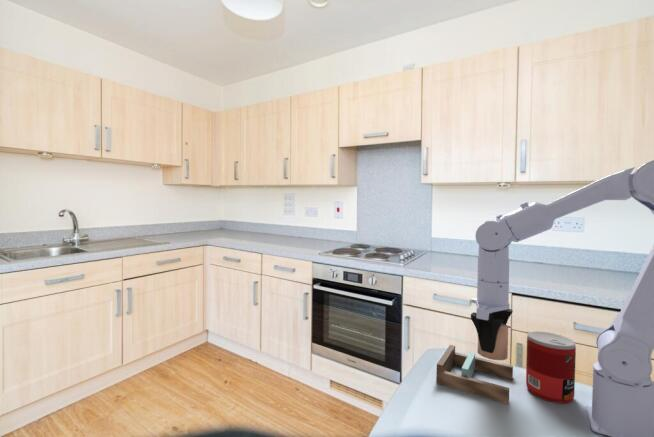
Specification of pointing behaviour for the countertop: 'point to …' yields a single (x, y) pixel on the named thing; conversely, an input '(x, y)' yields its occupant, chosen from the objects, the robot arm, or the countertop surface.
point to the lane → (470, 383)
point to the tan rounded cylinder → (498, 345)
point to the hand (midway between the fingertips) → (491, 346)
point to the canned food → (551, 366)
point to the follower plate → (469, 365)
